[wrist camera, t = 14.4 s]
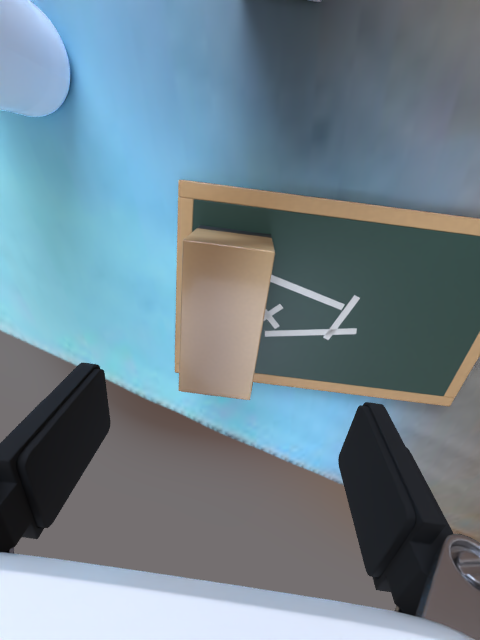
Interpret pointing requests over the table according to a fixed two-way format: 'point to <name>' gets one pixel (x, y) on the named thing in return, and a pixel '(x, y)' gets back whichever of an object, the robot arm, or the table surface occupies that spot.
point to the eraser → (223, 309)
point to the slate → (354, 291)
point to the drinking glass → (31, 61)
